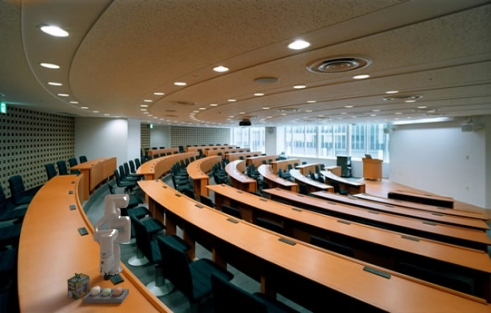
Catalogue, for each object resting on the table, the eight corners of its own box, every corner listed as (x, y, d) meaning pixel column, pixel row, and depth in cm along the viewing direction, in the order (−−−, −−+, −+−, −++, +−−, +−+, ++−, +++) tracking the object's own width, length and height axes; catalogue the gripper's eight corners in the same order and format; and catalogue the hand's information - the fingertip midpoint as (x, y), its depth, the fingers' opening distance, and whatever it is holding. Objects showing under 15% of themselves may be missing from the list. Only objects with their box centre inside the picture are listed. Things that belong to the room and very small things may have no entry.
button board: (83, 302, 150) (83, 298, 150) (92, 292, 160) (92, 288, 160) (121, 303, 151) (121, 298, 151) (128, 293, 161) (128, 288, 161)
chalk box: (90, 292, 161) (90, 271, 160) (76, 300, 152) (75, 278, 151) (81, 288, 164) (81, 267, 163) (67, 296, 156) (66, 274, 155)
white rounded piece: (89, 296, 153) (89, 290, 153) (94, 291, 158) (94, 286, 157) (97, 296, 153) (97, 290, 153) (101, 291, 158) (101, 286, 158)
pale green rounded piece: (101, 298, 153) (100, 292, 153) (105, 293, 158) (105, 288, 158) (108, 298, 154) (108, 292, 153) (112, 293, 158) (112, 288, 158)
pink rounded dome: (112, 296, 154) (112, 291, 153) (115, 292, 158) (115, 286, 158) (119, 297, 154) (119, 291, 153) (123, 292, 158) (123, 286, 158)
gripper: (106, 259, 146) (106, 287, 148) (118, 247, 161) (118, 273, 163) (93, 258, 146) (94, 287, 148) (106, 247, 161) (107, 273, 163)
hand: (106, 279), depth 155 cm, fingers closed
